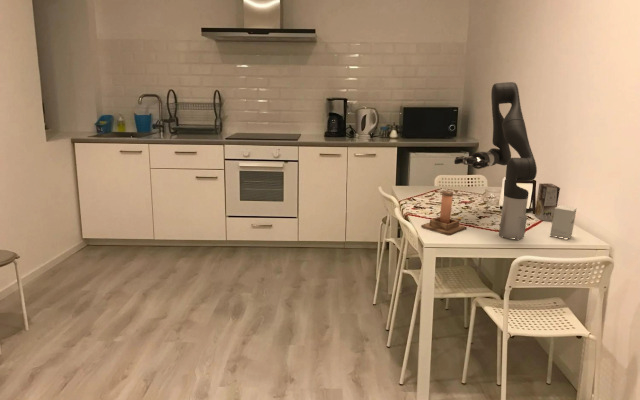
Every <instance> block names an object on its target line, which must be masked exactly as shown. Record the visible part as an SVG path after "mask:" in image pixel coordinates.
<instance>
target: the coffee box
mask: <svg viewBox="0 0 640 400" xmlns="http://www.w3.org/2000/svg"><path fill="white" fill-rule="evenodd" d="M560 190H561V187H560V186H557V185H555V184H553V183H540V182H539V183H538V190H537V198H536V204H535V211H534V216H535V217H537V218H538V219H539V220H540V221H542V222H543V221H544V222H553V216H554V210H555V208H556V207H557V206H558V202H559V198H560V197H559V195H560Z"/></svg>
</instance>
